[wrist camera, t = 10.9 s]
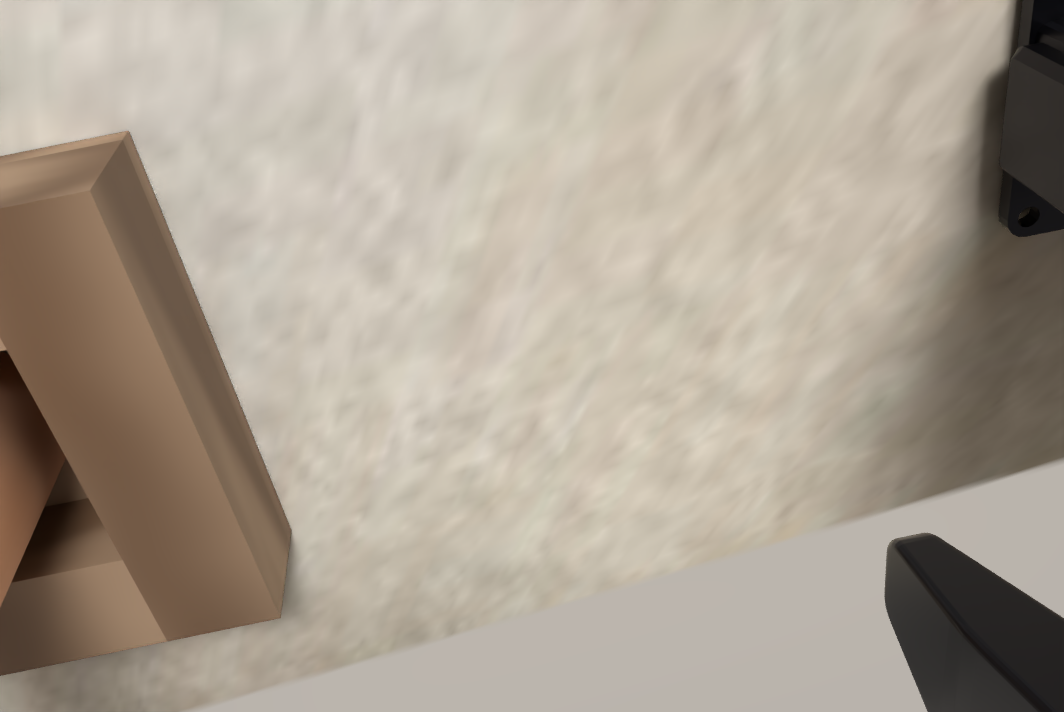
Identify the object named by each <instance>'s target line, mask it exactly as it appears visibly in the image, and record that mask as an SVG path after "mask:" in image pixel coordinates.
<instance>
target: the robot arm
mask: <svg viewBox="0 0 1064 712" xmlns="http://www.w3.org/2000/svg"><path fill="white" fill-rule="evenodd" d="M999 164H1000V167H1001V168H1002V169H1004V170H1003V178H1002V187H1001V196H1000V205H999V222H1000V223H1001V224H1002V226H1003V227H1004V228H1006V229H1007V230H1008V231H1009V232H1010V233H1012V234H1013V235H1016V236H1018V237H1026V236H1031V235H1036V234H1041V233H1046V232H1051V231H1056V230H1061V229H1064V0H1023V1H1022V10H1021V19H1020V28H1019V36H1018V45H1017V50H1016V52H1015V54H1014V55H1013V57H1012V58H1011V61H1010V68H1009V78H1008V87H1007V96H1006V105H1005V114H1004V123H1003V132H1002V141H1001V151H1000V160H999ZM1029 207H1030V210H1029V213H1028V214H1027V215H1026V216H1025V217H1024V218H1021V219H1019V220H1018V218H1019V215H1020V213H1021V212H1022V211H1023V210H1024V209H1026V208H1029ZM885 603H886V609H887V612H888V616H889V619H890V621H891V624H892V626H893V629H894V631H895V634H896V636H897V639H898V641H899V643H900V646H901V648H902V651H903V653H904V656H905V658H906V660H907V663H908V665H909V668H910V670H911V672H912V675H913V677H914V680H915V682H916V685H917V687H918V689H919V692H920V694H921V697H922V699H923V702H924V704H925V707H926V709H927V711H928V712H1064V618H1062V617H1061V616H1059V615H1058V614H1056V613H1055V612H1053V611H1052V610H1050V609H1048V608H1047V607H1045V606H1044V605H1043V604H1041V603H1039V602H1038V601H1036V600H1035V599H1033V598H1031V597H1030V596H1029V595H1027V594H1025V593H1024V592H1022V591H1021V590H1019V589H1018V588H1016V587H1015V586H1013V585H1012V584H1010V583H1008V582H1007V581H1005V580H1004V579H1002V578H1001V577H999V576H998V575H996V574H995V573H993V572H992V571H990V570H988V569H987V568H985V567H984V566H982V565H981V564H979V563H978V562H976V561H975V560H973V559H972V558H970V557H968V556H967V555H965V554H964V553H962V552H961V551H959V550H958V549H956V548H955V547H953V546H951V545H950V544H948V543H947V542H945V541H944V540H942V539H941V538H939V537H937V536H936V535H933V534H930V533H921V534H916V535H911V536H907V537H902V538H897V539H894V540H892V541H891V542H890V543H889V545H888V548H887V559H886V578H885Z"/></svg>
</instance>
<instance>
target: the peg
mask: <svg viewBox="0 0 1064 712" xmlns="http://www.w3.org/2000/svg"><path fill="white" fill-rule="evenodd" d="M65 459H66V457H65V455H64V453H63V451H62V449H61V447H60V446H59V444H58V442H57V440H56V438H55V437H54V435H53V433H52V431H51V429H50V428H49V426H48V424H47V422H46V420H45V418H44V417H43V415H42V413H41V411H40V409H39V408H38V406H37V404H36V402H35V400H34V398H33V397H32V395H31V393H30V391H29V389H28V388H27V386H26V384H25V382H24V380H23V379H22V377H21V375H20V373H19V371H18V369H17V368H16V366H15V364H14V362H13V360H12V359H11V357H10V355H9V354H7V353H4V352H1V351H0V607H1V605H2V602H3V600H4V598H5V596H6V593H7V591H8V589H9V586H10V584H11V582H12V580H13V577H14V575H15V573H16V570H17V568H18V566H19V564H20V561H21V559H22V557H23V555H24V552H25V550H26V548H27V545H28V543H29V541H30V539H31V536H32V534H33V532H34V529H35V527H36V525H37V523H38V520H39V518H40V516H41V514H42V511H43V509H44V507H45V504H46V502H47V500H48V498H49V495H50V493H51V491H52V488H53V486H54V484H55V482H56V479H57V477H58V475H59V473H60V470H61V468H62V466H63V463H64V461H65Z"/></svg>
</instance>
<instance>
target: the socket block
mask: <svg viewBox="0 0 1064 712" xmlns="http://www.w3.org/2000/svg"><path fill="white" fill-rule="evenodd" d="M0 351H1V352H4V353H7V354H9V355H10V357H11V359H12V360H13V362H14V364H15V366H16V368H17V369H18V371H19V373H20V375H21V377H22V379H23V380H24V382H25V384H26V386H27V388H28V389H29V391H30V393H31V395H32V397H33V398H34V400H35V402H36V404H37V406H38V408H39V409H40V411H41V413H42V415H43V417H44V418H45V420H46V422H47V424H48V426H49V428H50V429H51V431H52V433H53V435H54V437H55V438H56V440H57V442H58V444H59V446H60V447H61V449H62V451H63V453H64V455H65V457H66V459H65V461H64V463H63V466H62V468H61V470H60V473H59V475H58V477H57V479H56V482H55V484H54V486H53V488H52V491H51V493H50V495H49V498H48V500H47V502H46V504H45V507H44V509H43V511H42V514H41V516H40V518H39V520H38V523H37V525H36V527H35V529H34V532H33V534H32V536H31V539H30V541H29V543H28V545H27V548H26V550H25V552H24V555H23V557H22V559H21V561H20V564H19V566H18V568H17V570H16V573H15V575H14V577H13V580H12V582H11V584H10V586H9V589H8V591H7V593H6V596H5V598H4V600H3V602H2V605H1V607H0V676H1V675H6V674H11V673H16V672H21V671H25V670H30V669H35V668H40V667H45V666H50V665H55V664H60V663H64V662H69V661H74V660H79V659H84V658H89V657H94V656H98V655H103V654H108V653H113V652H118V651H123V650H128V649H132V648H137V647H142V646H147V645H152V644H157V643H162V642H166V641H171V640H176V639H181V638H186V637H191V636H196V635H200V634H205V633H210V632H215V631H220V630H225V629H230V628H234V627H239V626H244V625H249V624H254V623H259V622H264V621H268V620H273V619H278V618H281V610H282V602H283V594H284V586H285V578H286V570H287V562H288V554H289V546H290V538H291V528H290V526H289V523H288V521H287V519H286V516H285V514H284V511H283V509H282V506H281V504H280V501H279V499H278V496H277V494H276V492H275V489H274V487H273V484H272V482H271V479H270V477H269V474H268V472H267V469H266V467H265V465H264V462H263V460H262V457H261V455H260V452H259V450H258V447H257V445H256V442H255V440H254V438H253V435H252V433H251V430H250V428H249V425H248V423H247V420H246V418H245V415H244V413H243V411H242V408H241V406H240V403H239V401H238V398H237V396H236V393H235V391H234V388H233V386H232V384H231V381H230V379H229V376H228V374H227V371H226V369H225V366H224V364H223V361H222V359H221V357H220V354H219V352H218V349H217V347H216V344H215V342H214V339H213V337H212V335H211V332H210V330H209V327H208V325H207V322H206V320H205V317H204V315H203V312H202V310H201V308H200V305H199V303H198V300H197V298H196V295H195V293H194V290H193V288H192V285H191V283H190V281H189V278H188V276H187V273H186V271H185V268H184V266H183V263H182V261H181V258H180V256H179V254H178V251H177V249H176V246H175V244H174V241H173V239H172V236H171V234H170V231H169V229H168V227H167V224H166V222H165V219H164V217H163V214H162V212H161V209H160V207H159V204H158V202H157V200H156V197H155V195H154V192H153V190H152V187H151V185H150V182H149V180H148V177H147V175H146V173H145V170H144V168H143V165H142V163H141V160H140V158H139V155H138V153H137V150H136V148H135V146H134V143H133V141H132V138H131V136H130V133H129V131H125V132H120V133H115V134H110V135H105V136H100V137H95V138H90V139H85V140H80V141H75V142H70V143H65V144H60V145H55V146H50V147H45V148H40V149H35V150H30V151H25V152H20V153H15V154H10V155H5V156H0Z"/></svg>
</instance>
